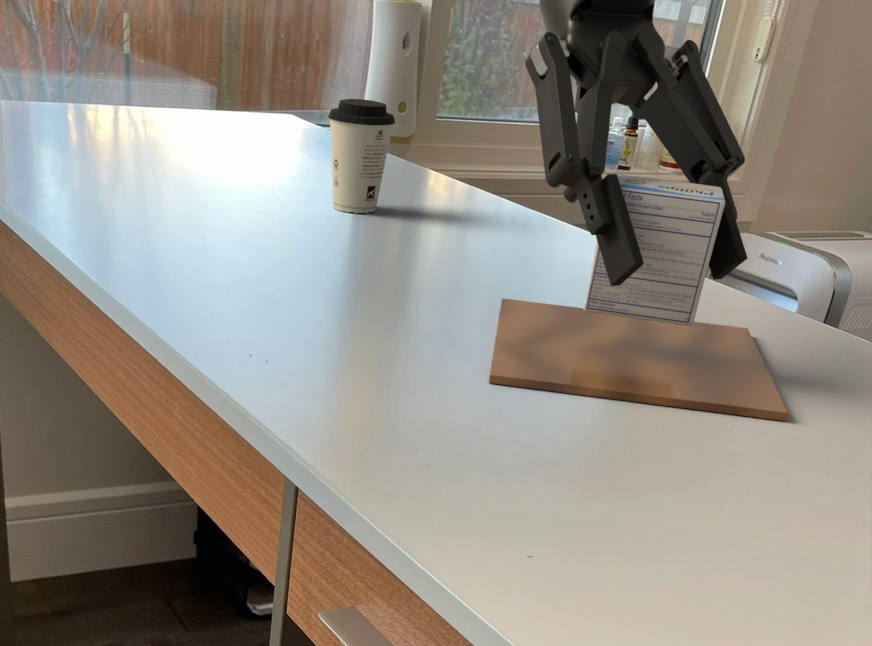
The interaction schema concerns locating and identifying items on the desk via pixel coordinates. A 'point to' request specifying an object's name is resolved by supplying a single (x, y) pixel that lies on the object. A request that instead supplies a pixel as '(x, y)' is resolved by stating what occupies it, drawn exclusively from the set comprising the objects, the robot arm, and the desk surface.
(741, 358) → the wooden board
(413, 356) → the desk surface
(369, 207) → the coffee cup
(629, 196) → the medicine box
